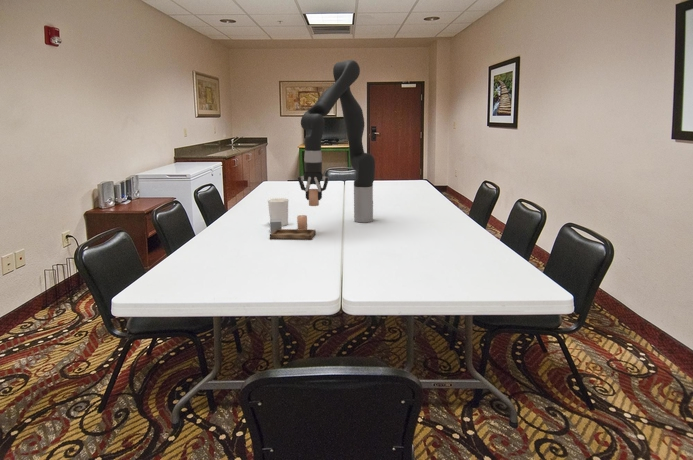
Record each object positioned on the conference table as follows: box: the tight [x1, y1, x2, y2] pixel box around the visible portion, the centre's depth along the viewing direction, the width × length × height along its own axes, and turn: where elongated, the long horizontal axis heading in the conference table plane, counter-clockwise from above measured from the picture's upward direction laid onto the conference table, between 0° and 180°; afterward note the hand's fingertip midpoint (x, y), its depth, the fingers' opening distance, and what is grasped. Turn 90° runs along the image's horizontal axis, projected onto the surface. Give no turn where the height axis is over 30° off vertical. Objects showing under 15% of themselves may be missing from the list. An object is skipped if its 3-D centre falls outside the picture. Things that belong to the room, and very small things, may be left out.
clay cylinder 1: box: [296, 214, 308, 230], centre depth 214 cm, size 4×4×7 cm
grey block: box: [269, 219, 283, 234], centre depth 216 cm, size 5×5×5 cm
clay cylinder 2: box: [308, 188, 320, 207], centre depth 209 cm, size 4×4×7 cm
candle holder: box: [267, 197, 289, 227], centre depth 228 cm, size 10×10×12 cm
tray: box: [269, 228, 317, 241], centre depth 206 cm, size 18×10×2 cm, turn 83°
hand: (313, 199), depth 210 cm, fingers closed on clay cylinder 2, 4 cm apart
